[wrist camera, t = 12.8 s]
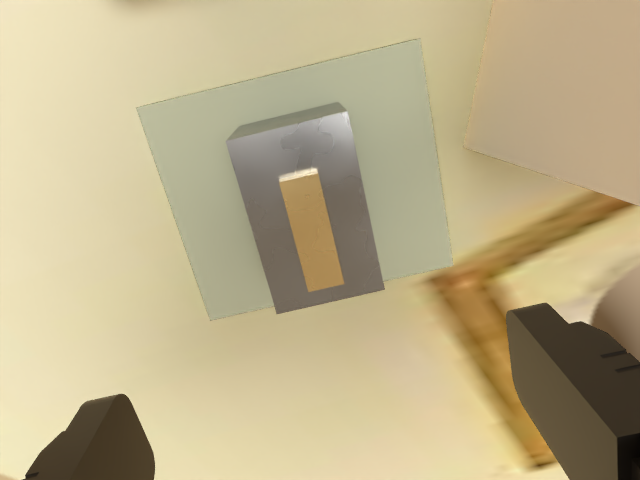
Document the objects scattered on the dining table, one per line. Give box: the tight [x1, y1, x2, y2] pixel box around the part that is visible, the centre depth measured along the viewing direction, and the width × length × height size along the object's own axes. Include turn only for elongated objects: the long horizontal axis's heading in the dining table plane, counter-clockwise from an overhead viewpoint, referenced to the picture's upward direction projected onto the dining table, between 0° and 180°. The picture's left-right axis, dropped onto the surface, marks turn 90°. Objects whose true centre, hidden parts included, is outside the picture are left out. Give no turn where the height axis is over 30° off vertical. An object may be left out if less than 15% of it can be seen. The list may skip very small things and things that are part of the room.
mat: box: [136, 39, 454, 321], centre depth 26 cm, size 14×12×1 cm
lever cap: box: [226, 102, 385, 314], centre depth 23 cm, size 5×8×6 cm, turn 13°
